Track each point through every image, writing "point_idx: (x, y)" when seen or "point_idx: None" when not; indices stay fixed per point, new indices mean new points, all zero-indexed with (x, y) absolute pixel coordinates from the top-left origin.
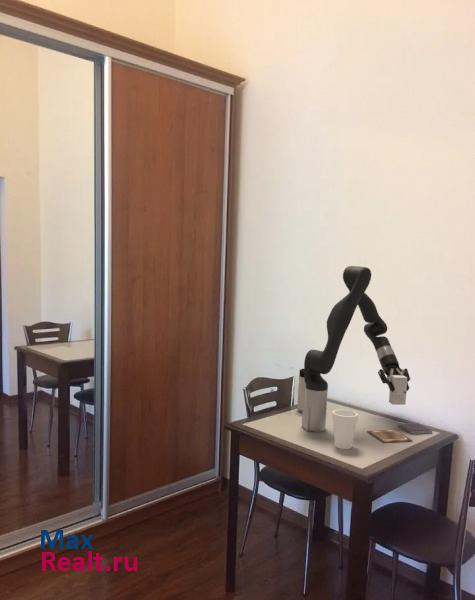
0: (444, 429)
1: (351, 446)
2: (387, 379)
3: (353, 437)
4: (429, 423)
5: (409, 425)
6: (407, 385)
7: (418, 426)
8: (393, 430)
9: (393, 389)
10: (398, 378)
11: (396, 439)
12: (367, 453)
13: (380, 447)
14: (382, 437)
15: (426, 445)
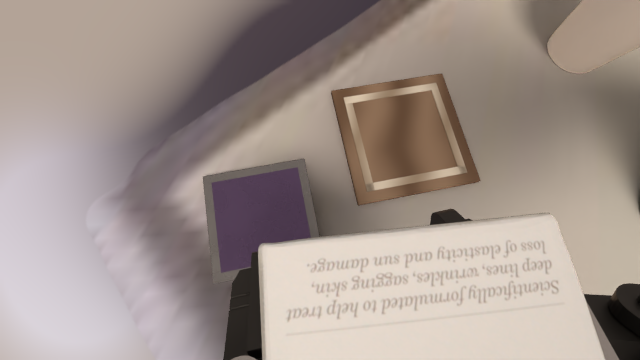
0: (117, 234)
1: (550, 40)
2: (614, 340)
3: (573, 15)
4: (138, 323)
5: (279, 235)
6: (254, 285)
7: (242, 223)
8: (369, 187)
9: (450, 210)
10: (462, 223)
11: (389, 93)
12: (504, 4)
13: (456, 44)
14: (434, 113)
15: (295, 61)
